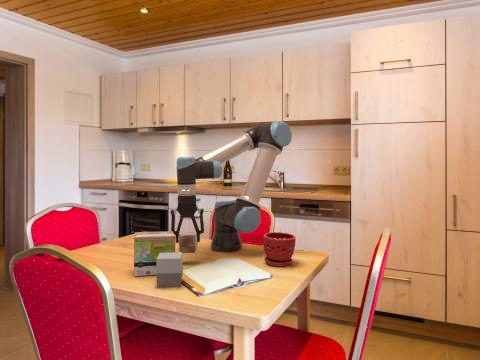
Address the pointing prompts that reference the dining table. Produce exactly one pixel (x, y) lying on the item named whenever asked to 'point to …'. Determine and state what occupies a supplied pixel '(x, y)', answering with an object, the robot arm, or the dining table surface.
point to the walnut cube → (187, 243)
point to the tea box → (151, 250)
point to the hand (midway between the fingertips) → (188, 250)
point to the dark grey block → (169, 279)
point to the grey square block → (169, 263)
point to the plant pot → (279, 248)
